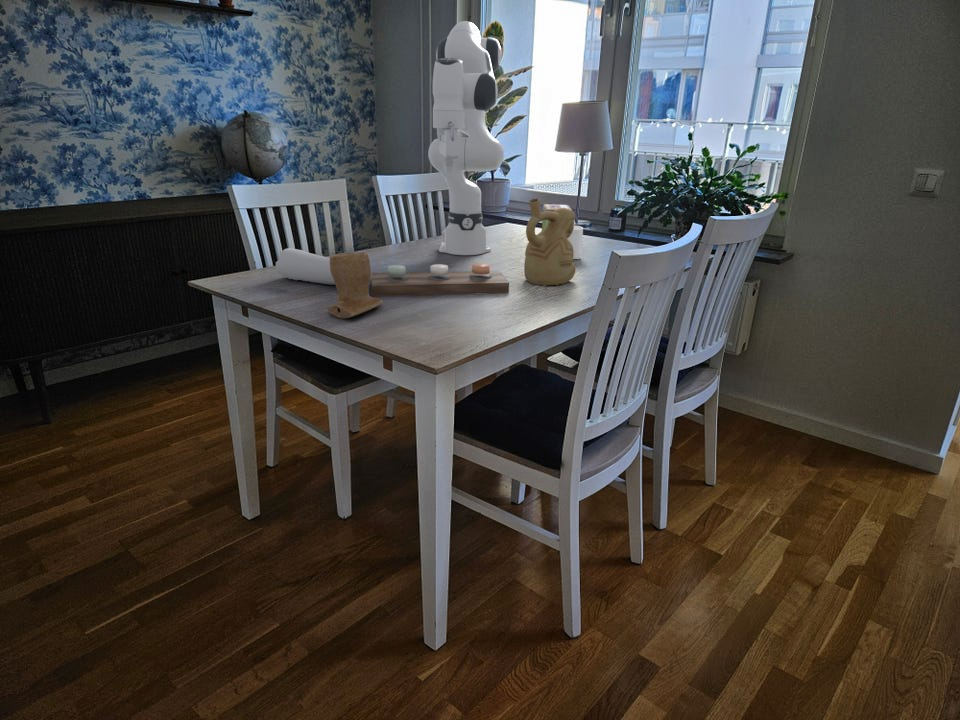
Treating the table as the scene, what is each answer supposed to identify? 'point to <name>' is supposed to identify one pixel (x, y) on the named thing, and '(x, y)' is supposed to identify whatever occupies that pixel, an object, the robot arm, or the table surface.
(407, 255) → the table surface
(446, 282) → the button panel
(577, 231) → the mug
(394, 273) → the button sage
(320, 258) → the bottle
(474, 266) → the button terracotta
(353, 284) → the stone cup
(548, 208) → the tea box
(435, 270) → the button cream
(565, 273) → the ceramic vessel
